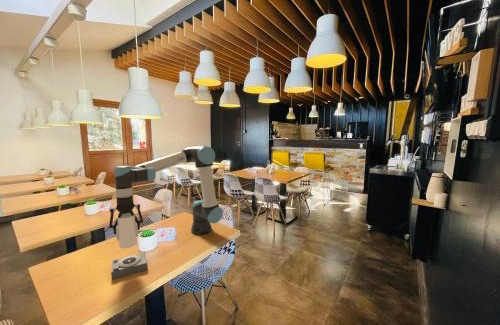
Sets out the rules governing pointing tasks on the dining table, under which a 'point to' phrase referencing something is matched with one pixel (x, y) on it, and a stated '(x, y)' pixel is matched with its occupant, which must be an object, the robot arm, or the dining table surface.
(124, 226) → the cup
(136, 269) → the camera body
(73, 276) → the dining table surface
